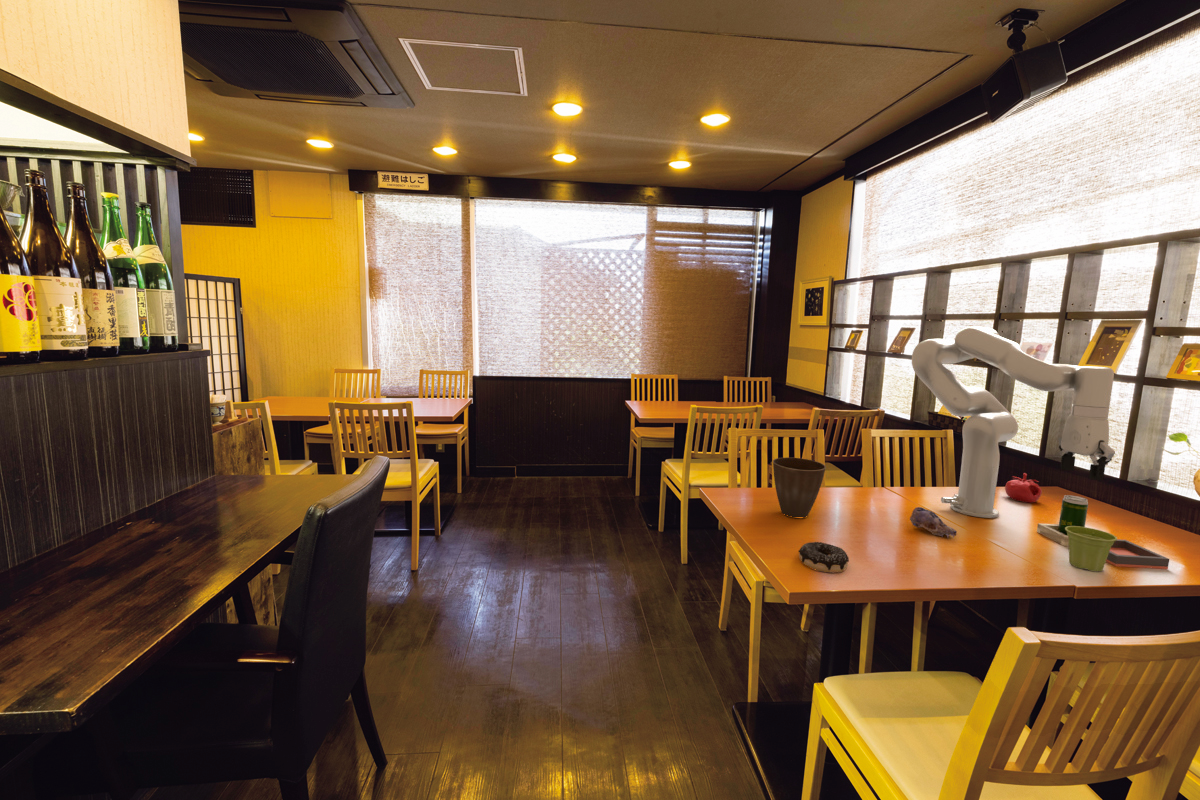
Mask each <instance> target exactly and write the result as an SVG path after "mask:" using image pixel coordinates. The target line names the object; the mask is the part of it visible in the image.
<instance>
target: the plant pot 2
mask: <svg viewBox="0 0 1200 800" xmlns="http://www.w3.org/2000/svg"><path fill="white" fill-rule="evenodd" d="M1065 530H1066V531H1067V536H1068V539H1069V546H1068V559H1069V562H1068V563H1070V565H1072V566H1074V567H1075V568H1077V569H1085V570H1088V571H1091V572H1102V571H1103V569H1104V567H1105V565H1106V563H1107V562H1106V559H1107V556H1108V554H1109V551H1110V548H1111V546H1112V545H1113V543H1114V541H1116V540H1117V539H1118V537H1117V536H1115V535H1114V534H1112V533H1109V532H1107V531H1104V530H1100V529H1096V528H1092V527H1086V526H1085V527H1080V526H1067V527H1065Z"/></svg>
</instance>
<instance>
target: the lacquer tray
mask: <svg viewBox="0 0 1200 800" xmlns="http://www.w3.org/2000/svg"><path fill="white" fill-rule="evenodd" d="M1105 563H1108V564H1110V565H1112V566H1115V567H1125V568H1126V567H1128V568H1142V569H1143V568H1144V569H1158V570H1159V569H1160V570H1168V569H1169V564H1170V558H1168V557H1166V556H1163V555H1161V554H1159V553H1157V552H1154V551H1152V550H1150V549H1148V548H1145V547H1143V546H1141V545H1138V544H1136V543H1134V542H1132V541H1129V540H1127V539H1118V538H1117V540H1116V541H1114V543H1113V545H1112V546H1111V548H1110V551H1109V554H1108V556H1107V559H1106V562H1105Z"/></svg>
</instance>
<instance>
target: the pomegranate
mask: <svg viewBox="0 0 1200 800" xmlns="http://www.w3.org/2000/svg"><path fill="white" fill-rule="evenodd" d="M1027 476H1028V474H1027V473H1026V472H1023V475H1022V478H1021V477H1017V476H1015V475H1013V476H1012V475H1011V477H1012V479H1011V480H1009V481H1007V482H1006V483H1005V486H1004V490H1005V493H1006V495H1007V496H1008V497H1009V498H1010V499H1011V500H1012V501H1018V502H1022V503H1028V504H1031V503H1035V502H1037V501H1039V500H1040V498H1041V496H1042V494H1043V493H1042V488H1041V487H1040V485H1039V484H1038V483H1039V482H1040V481H1038V480H1036V479H1027ZM1035 482H1036V483H1035Z"/></svg>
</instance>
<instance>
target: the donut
mask: <svg viewBox="0 0 1200 800" xmlns="http://www.w3.org/2000/svg"><path fill="white" fill-rule="evenodd" d="M798 557H799V560H800V562H801V561H802V562H801V563H802V564H803V563H804V564H805V565H804V564H803V565H804V566H806V565H807V566H809V567H811V568H813V569H812V570H814V569H816V570H819V571H818V572H820V571H824V572H823V573H826V572H838V573H842V572H844V571H845V570H846V569H847V568H848V566H849V561H850V559H849V556H848V554H847V552H846V551H845V550H844V549H843V548H842V547H840V546H836V545H833V544H831V543H830V544H828V543H825V542H822V541H812V542H811V541H810V542H807V543H804V544H803V545H802V546H801V547H800V548H799V549H798ZM807 566H806V567H807ZM809 567H808V568H809ZM811 568H810V569H811ZM816 570H815V571H816Z"/></svg>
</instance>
